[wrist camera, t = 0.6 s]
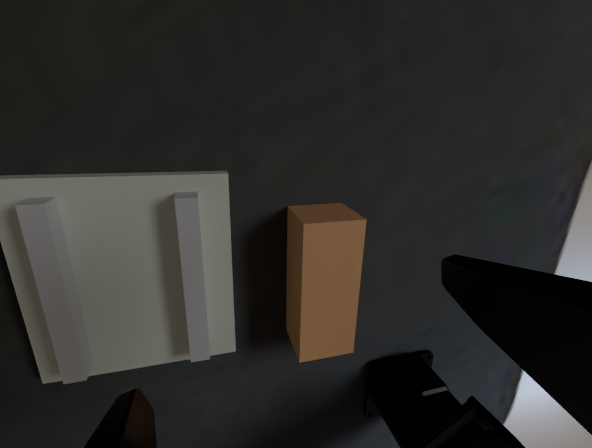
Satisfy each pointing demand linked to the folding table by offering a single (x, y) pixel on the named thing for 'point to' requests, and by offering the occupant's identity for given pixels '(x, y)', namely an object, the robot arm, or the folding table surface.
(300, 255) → the chute block
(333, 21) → the folding table surface
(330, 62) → the folding table surface
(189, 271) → the deck plate
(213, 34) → the folding table surface
